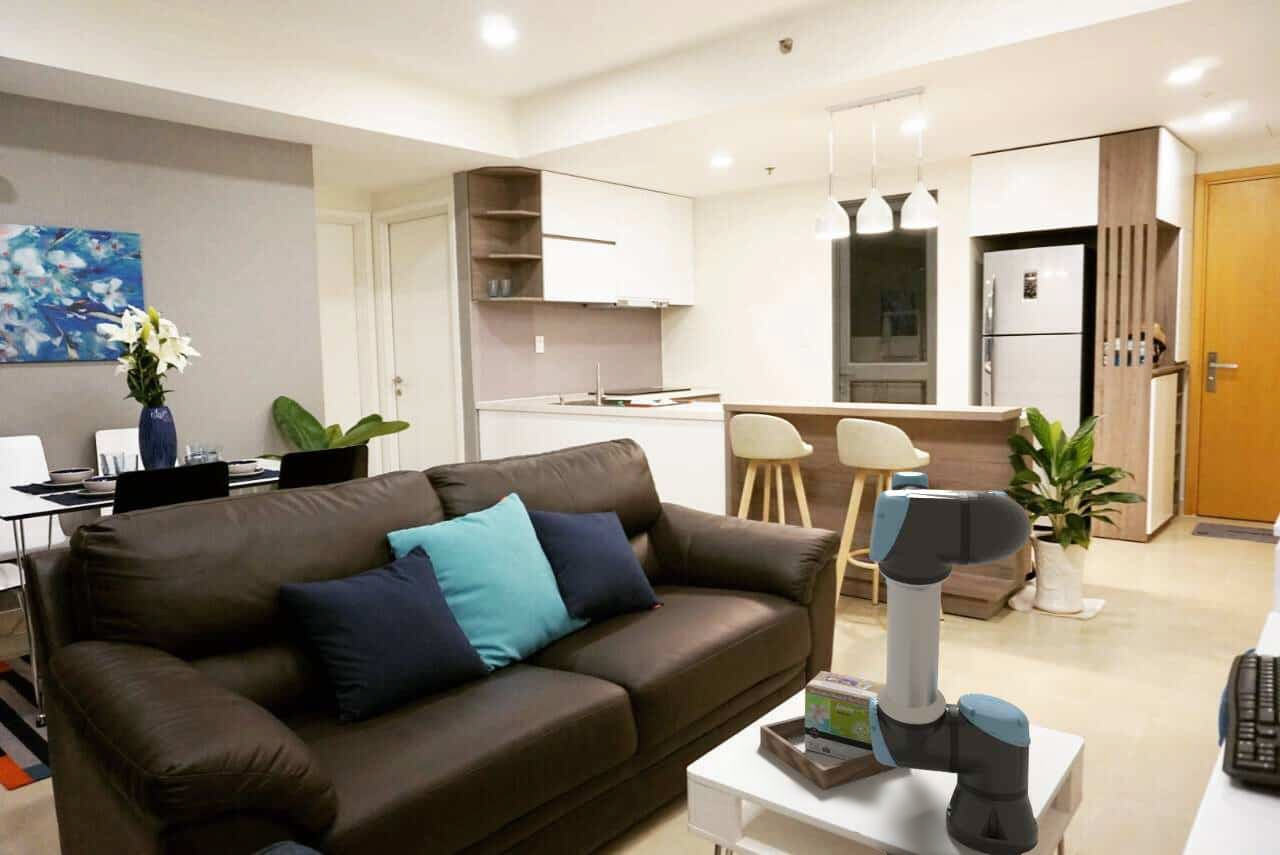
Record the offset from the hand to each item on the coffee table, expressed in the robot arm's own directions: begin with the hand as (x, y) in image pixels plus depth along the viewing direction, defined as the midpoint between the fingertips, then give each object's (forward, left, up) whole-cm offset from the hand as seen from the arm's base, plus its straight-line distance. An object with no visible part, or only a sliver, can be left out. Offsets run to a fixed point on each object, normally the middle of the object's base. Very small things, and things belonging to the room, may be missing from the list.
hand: (908, 649), depth 189 cm
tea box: (+1, +17, -20) cm, 26 cm away
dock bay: (0, +20, -19) cm, 28 cm away
